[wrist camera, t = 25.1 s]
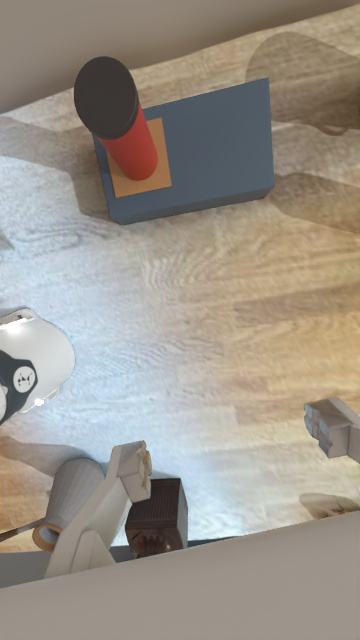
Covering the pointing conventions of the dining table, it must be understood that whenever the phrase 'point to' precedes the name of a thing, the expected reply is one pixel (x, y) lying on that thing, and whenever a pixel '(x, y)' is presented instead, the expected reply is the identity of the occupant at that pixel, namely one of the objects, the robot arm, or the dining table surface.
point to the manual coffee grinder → (158, 520)
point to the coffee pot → (63, 501)
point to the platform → (198, 156)
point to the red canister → (115, 115)
